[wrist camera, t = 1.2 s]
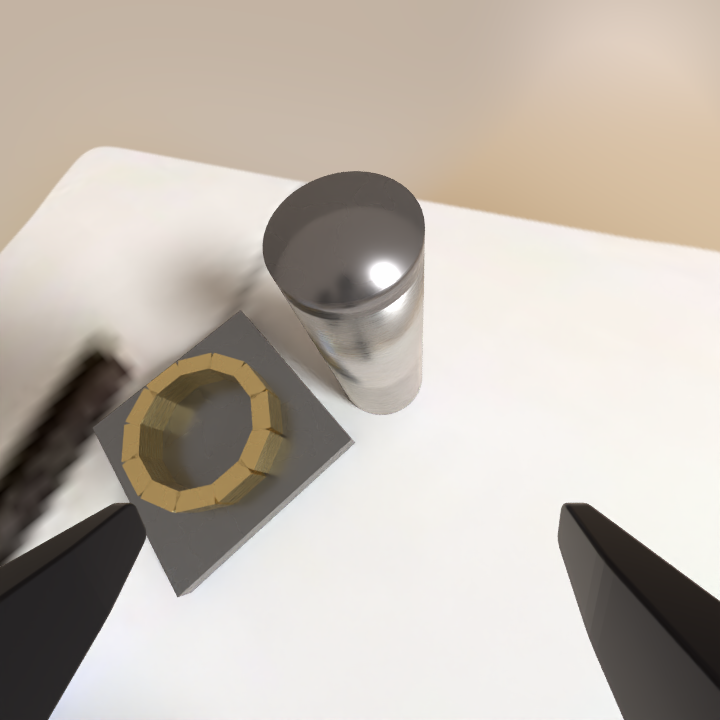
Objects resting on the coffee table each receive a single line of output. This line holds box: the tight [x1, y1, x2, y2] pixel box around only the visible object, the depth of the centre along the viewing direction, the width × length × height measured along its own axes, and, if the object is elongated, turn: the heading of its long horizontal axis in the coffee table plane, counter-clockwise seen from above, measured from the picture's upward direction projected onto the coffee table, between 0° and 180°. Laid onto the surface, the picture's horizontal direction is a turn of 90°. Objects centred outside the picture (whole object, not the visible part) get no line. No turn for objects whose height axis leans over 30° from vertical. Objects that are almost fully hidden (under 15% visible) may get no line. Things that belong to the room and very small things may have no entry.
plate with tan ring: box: [93, 310, 355, 597], centre depth 21 cm, size 12×12×3 cm
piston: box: [263, 171, 425, 415], centre depth 17 cm, size 5×5×13 cm
